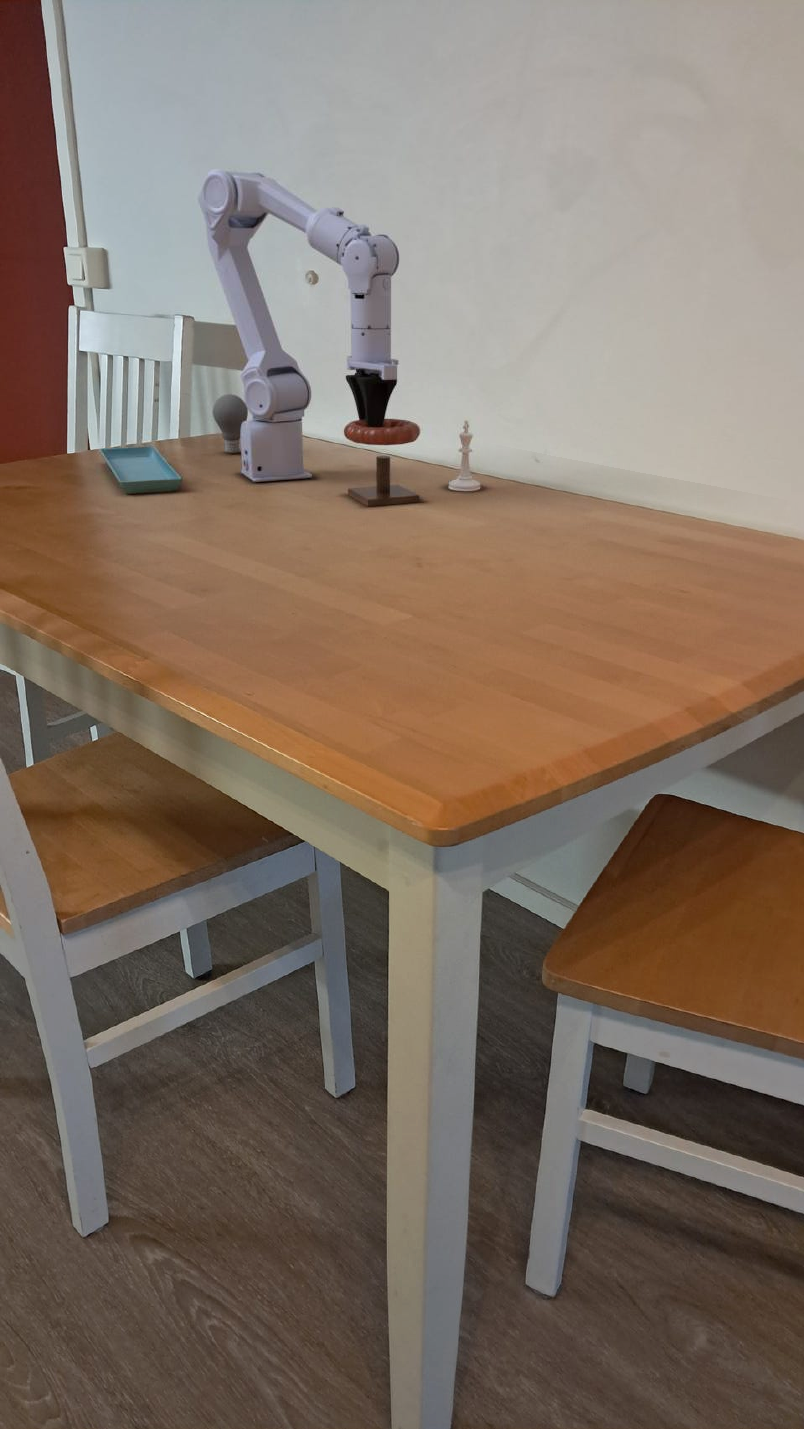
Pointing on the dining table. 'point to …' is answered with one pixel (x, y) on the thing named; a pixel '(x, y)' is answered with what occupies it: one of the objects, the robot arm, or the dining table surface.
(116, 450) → the teal serving tray
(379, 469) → the post
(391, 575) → the dining table surface
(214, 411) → the light bulb
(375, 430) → the ring
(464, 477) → the chess piece
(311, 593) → the dining table surface
